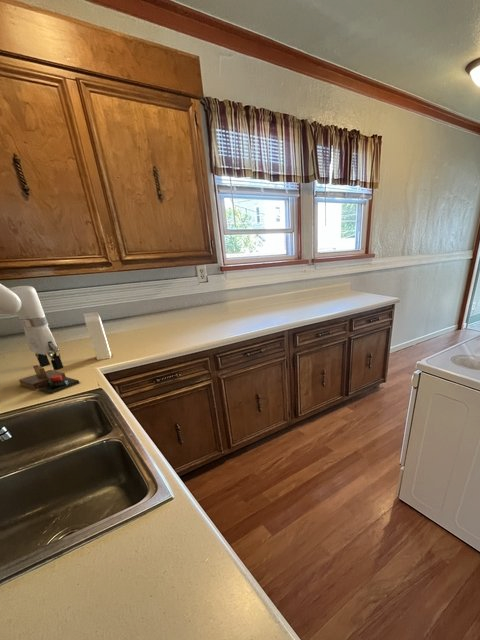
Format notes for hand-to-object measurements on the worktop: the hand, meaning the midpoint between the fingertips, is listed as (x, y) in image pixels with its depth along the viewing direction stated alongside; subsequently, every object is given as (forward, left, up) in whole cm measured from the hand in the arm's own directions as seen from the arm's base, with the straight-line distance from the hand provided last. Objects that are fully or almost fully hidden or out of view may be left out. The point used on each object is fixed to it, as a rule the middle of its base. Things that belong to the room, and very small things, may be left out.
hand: (52, 367), depth 125 cm
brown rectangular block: (0, +10, -6) cm, 12 cm away
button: (0, 0, -5) cm, 6 cm away
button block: (0, 0, -9) cm, 9 cm away
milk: (+31, +16, -9) cm, 36 cm away
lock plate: (0, +10, -9) cm, 13 cm away
